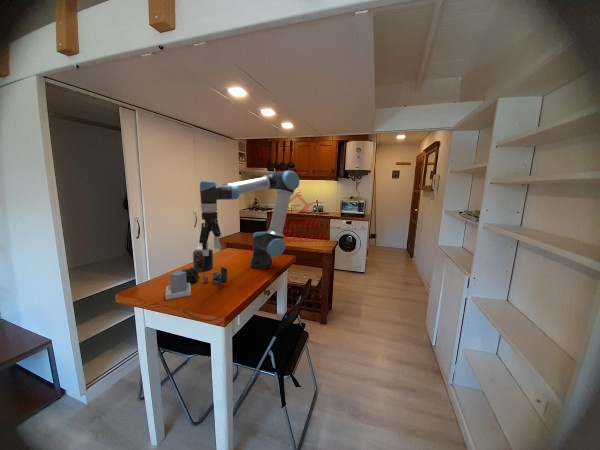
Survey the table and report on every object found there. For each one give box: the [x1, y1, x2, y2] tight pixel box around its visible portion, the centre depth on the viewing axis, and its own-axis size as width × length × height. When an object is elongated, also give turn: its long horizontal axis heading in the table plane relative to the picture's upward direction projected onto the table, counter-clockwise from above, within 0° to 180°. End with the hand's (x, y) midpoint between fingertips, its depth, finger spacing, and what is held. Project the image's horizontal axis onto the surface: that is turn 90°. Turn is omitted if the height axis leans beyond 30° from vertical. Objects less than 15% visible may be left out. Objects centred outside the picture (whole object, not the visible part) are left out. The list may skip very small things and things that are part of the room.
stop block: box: [169, 270, 187, 293], centre depth 111 cm, size 5×5×10 cm
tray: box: [164, 282, 192, 301], centre depth 112 cm, size 11×11×2 cm
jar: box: [192, 245, 214, 273], centre depth 144 cm, size 12×12×15 cm
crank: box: [212, 266, 228, 284], centre depth 122 cm, size 12×4×8 cm, turn 48°
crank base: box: [202, 273, 222, 285], centre depth 125 cm, size 9×5×5 cm, turn 118°
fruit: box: [181, 267, 200, 283], centre depth 125 cm, size 9×8×15 cm
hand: (211, 251), depth 117 cm, fingers open, 13 cm apart
